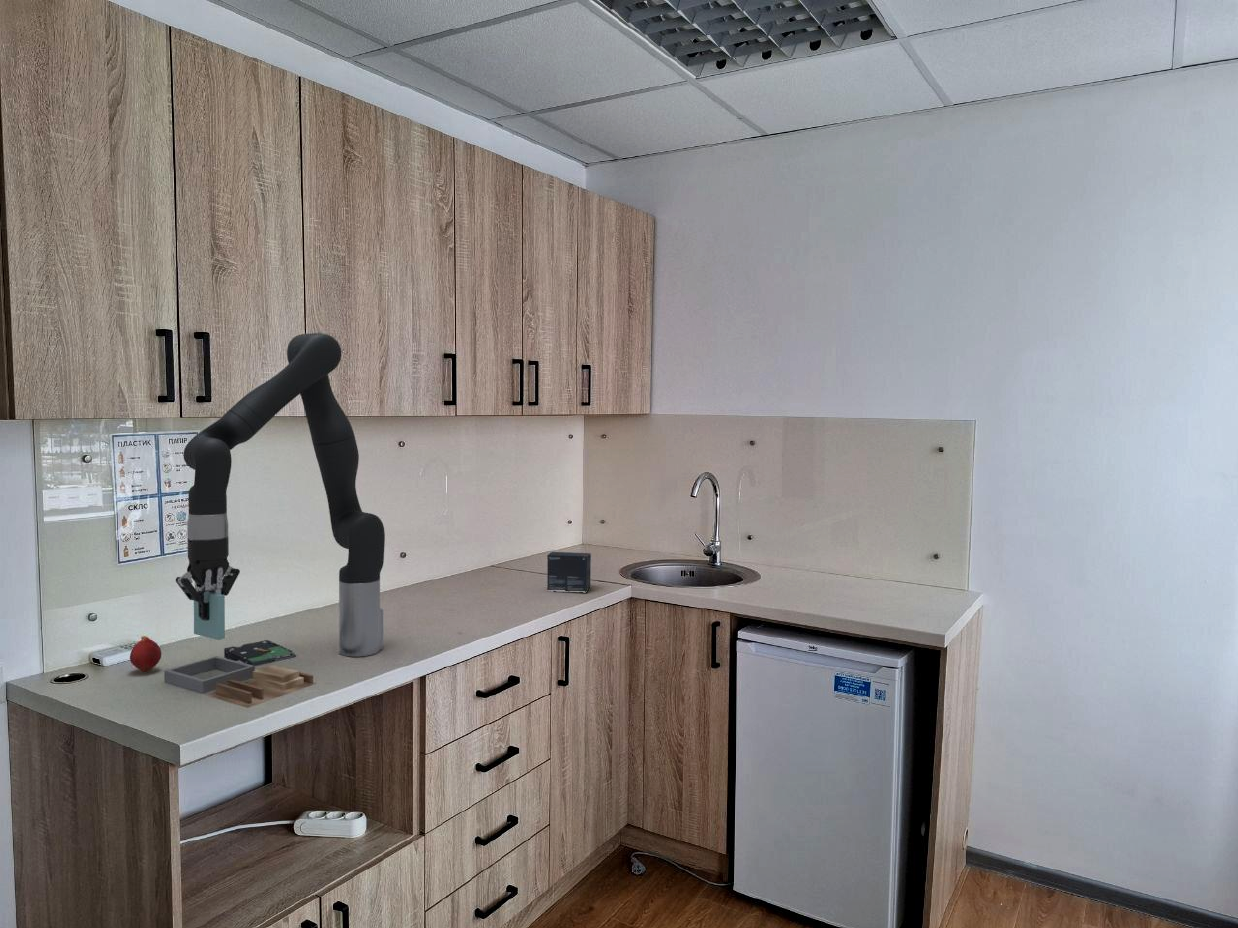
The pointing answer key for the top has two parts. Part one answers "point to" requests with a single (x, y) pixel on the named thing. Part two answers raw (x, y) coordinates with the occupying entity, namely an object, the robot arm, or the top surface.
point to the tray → (185, 673)
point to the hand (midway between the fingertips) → (209, 618)
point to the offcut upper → (276, 674)
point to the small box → (568, 571)
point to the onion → (145, 654)
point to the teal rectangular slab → (211, 618)
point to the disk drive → (258, 653)
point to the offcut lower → (278, 685)
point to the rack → (253, 691)
